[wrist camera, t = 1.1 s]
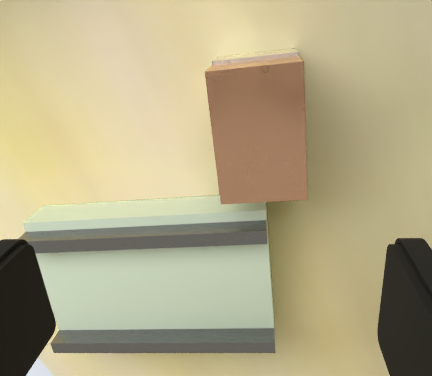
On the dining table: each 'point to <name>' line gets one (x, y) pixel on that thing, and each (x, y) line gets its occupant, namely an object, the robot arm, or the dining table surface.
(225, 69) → the block
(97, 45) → the dining table surface
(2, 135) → the dining table surface
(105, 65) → the dining table surface
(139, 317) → the stand
